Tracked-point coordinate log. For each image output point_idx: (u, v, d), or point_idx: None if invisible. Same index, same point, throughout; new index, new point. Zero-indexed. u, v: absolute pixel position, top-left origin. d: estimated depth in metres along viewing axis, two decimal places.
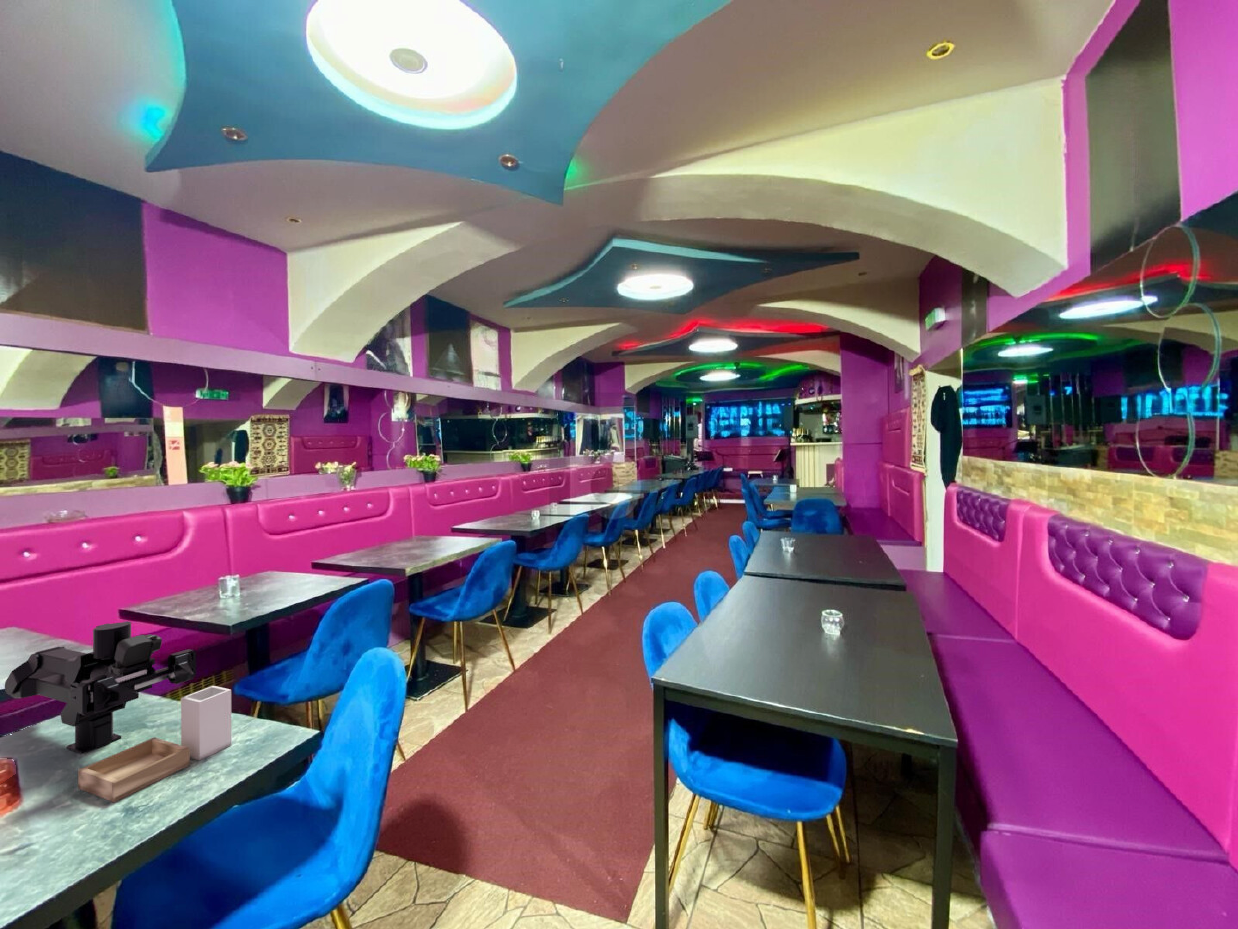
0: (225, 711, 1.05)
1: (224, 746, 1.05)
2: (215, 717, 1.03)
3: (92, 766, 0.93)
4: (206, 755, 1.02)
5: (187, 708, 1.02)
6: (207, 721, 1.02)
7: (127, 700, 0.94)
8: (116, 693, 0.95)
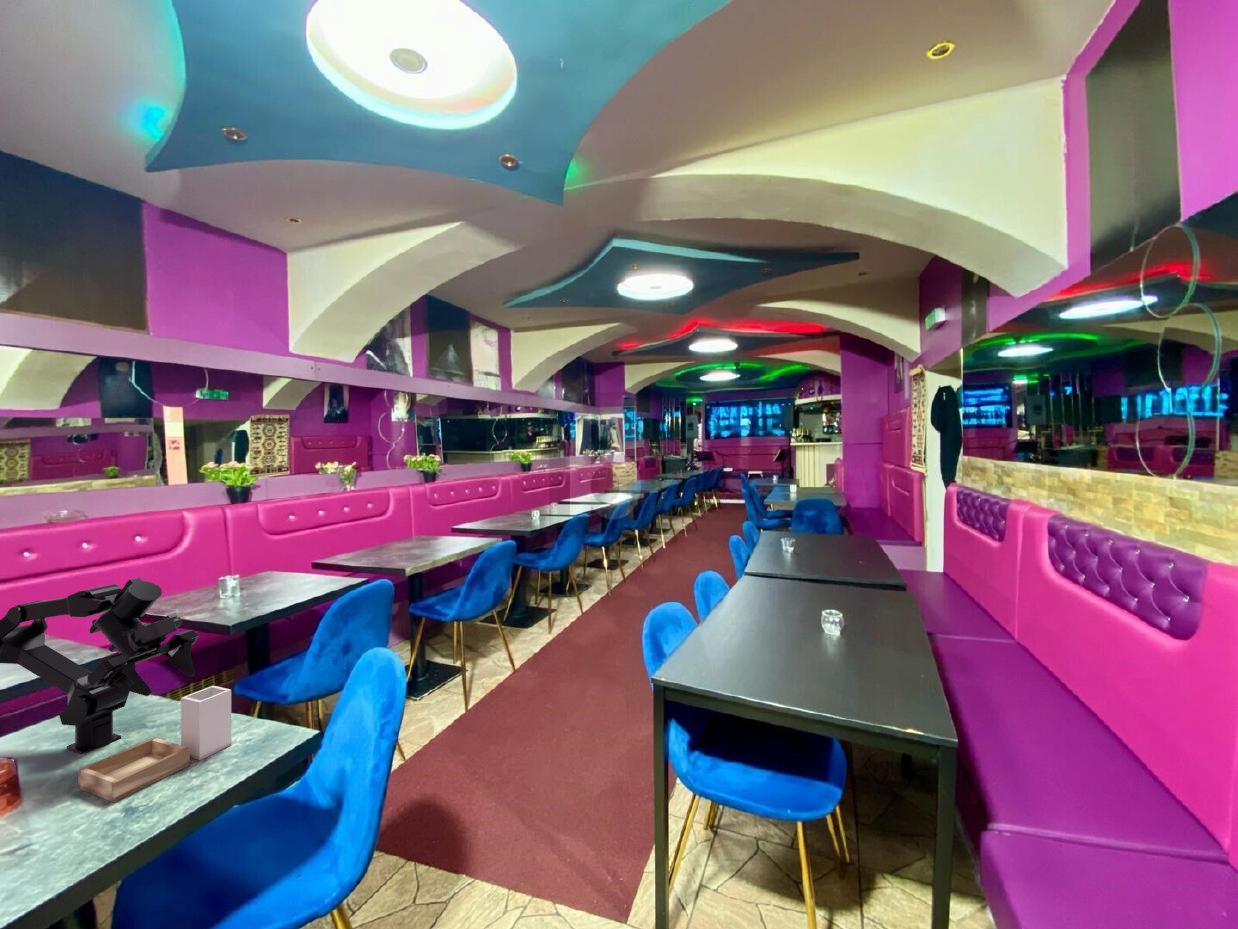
0: (225, 711, 1.05)
1: (224, 746, 1.05)
2: (215, 717, 1.03)
3: (92, 766, 0.93)
4: (206, 755, 1.02)
5: (187, 708, 1.02)
6: (207, 721, 1.02)
7: (137, 692, 1.00)
8: (130, 680, 1.00)
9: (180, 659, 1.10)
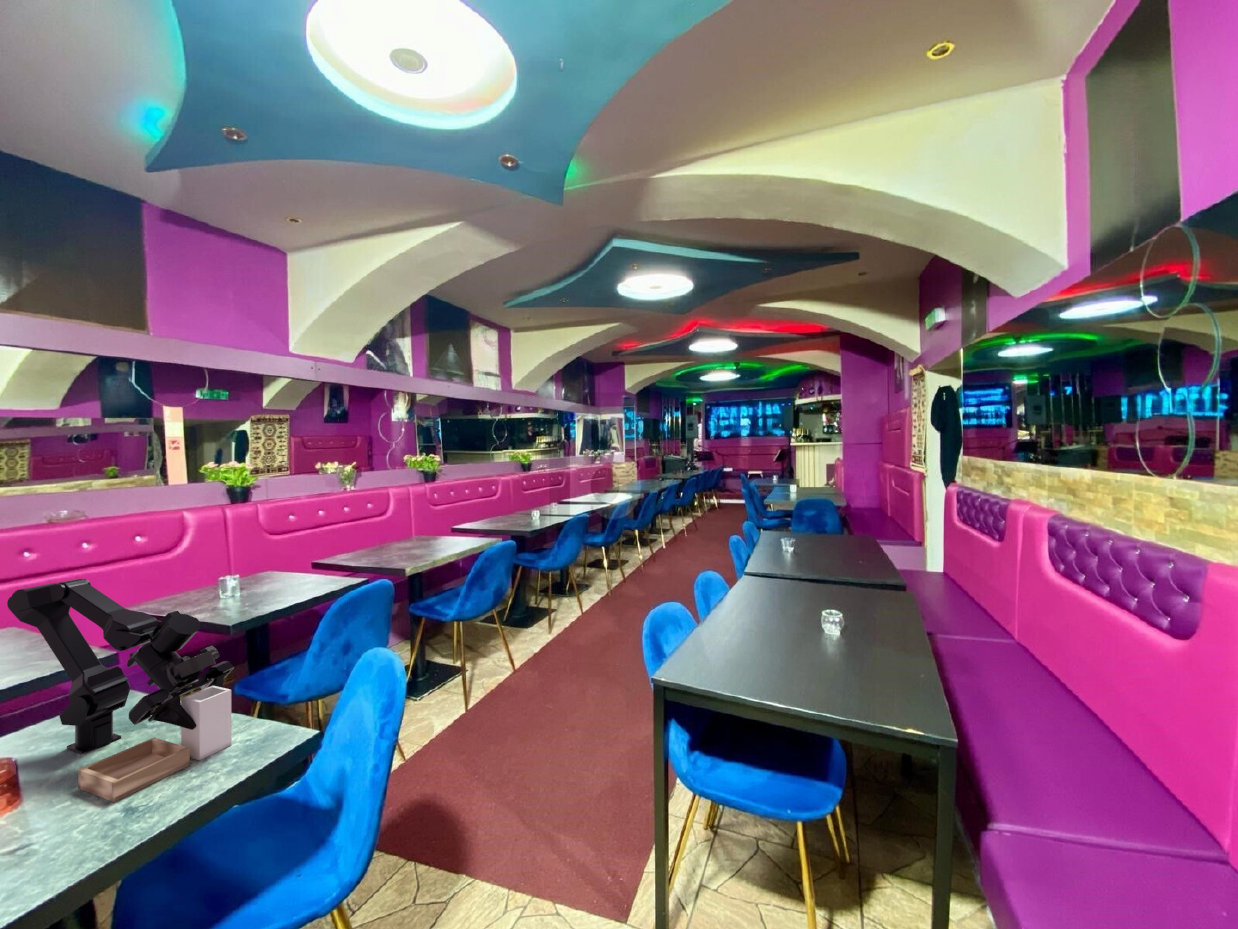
0: (225, 711, 1.05)
1: (224, 746, 1.05)
2: (215, 717, 1.03)
3: (92, 766, 0.93)
4: (206, 755, 1.02)
5: (187, 708, 1.02)
6: (207, 721, 1.02)
7: (182, 726, 1.00)
8: (176, 714, 1.00)
9: None
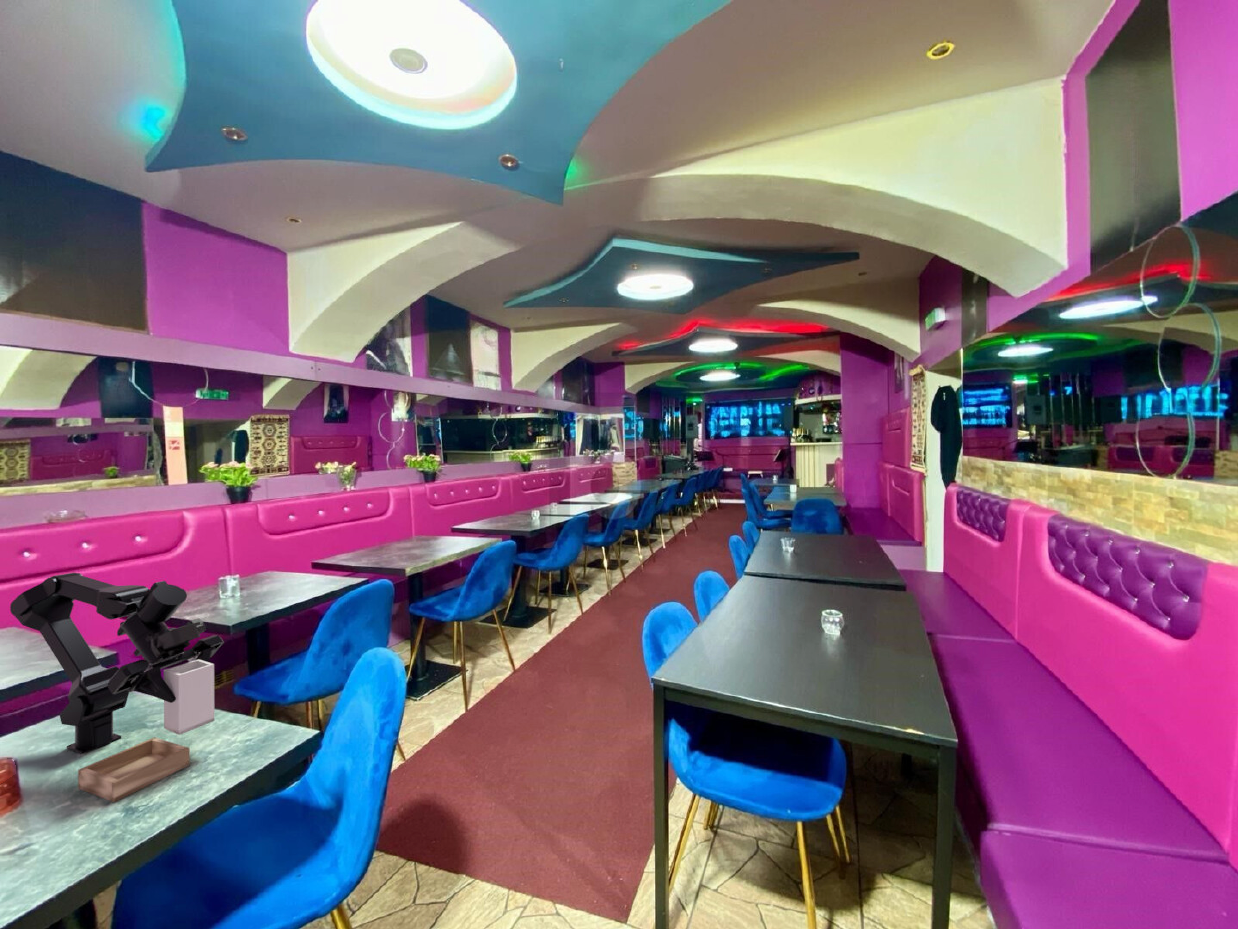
0: (207, 686, 1.02)
1: (206, 722, 1.02)
2: (196, 692, 1.00)
3: (92, 766, 0.93)
4: (186, 730, 0.99)
5: (169, 680, 0.99)
6: (187, 695, 0.99)
7: (162, 698, 0.98)
8: (156, 686, 0.97)
9: None
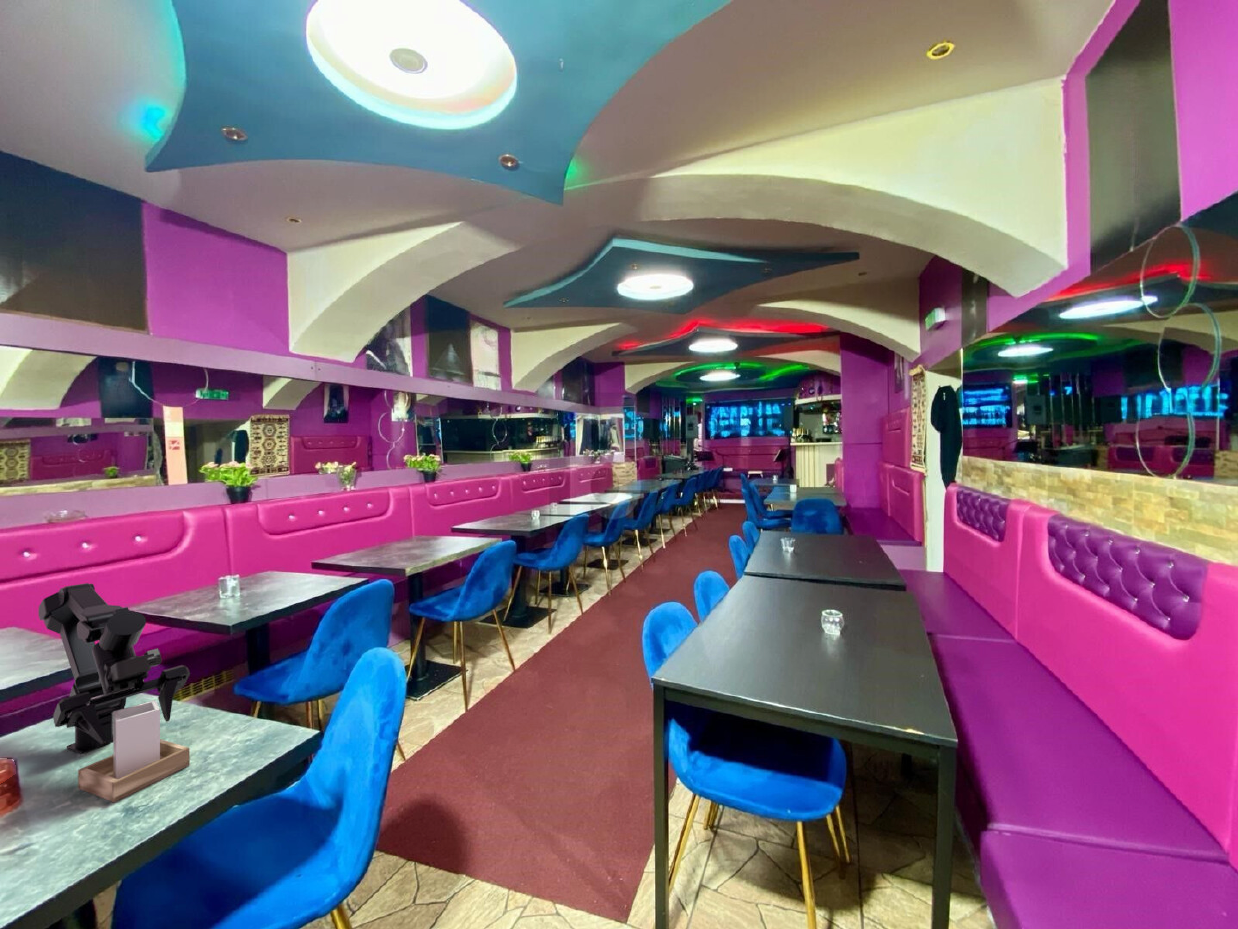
0: (151, 733, 0.95)
1: None
2: (137, 739, 0.94)
3: (92, 766, 0.93)
4: None
5: (114, 724, 0.94)
6: (126, 743, 0.92)
7: (95, 738, 0.91)
8: (90, 724, 0.91)
9: (163, 699, 1.01)
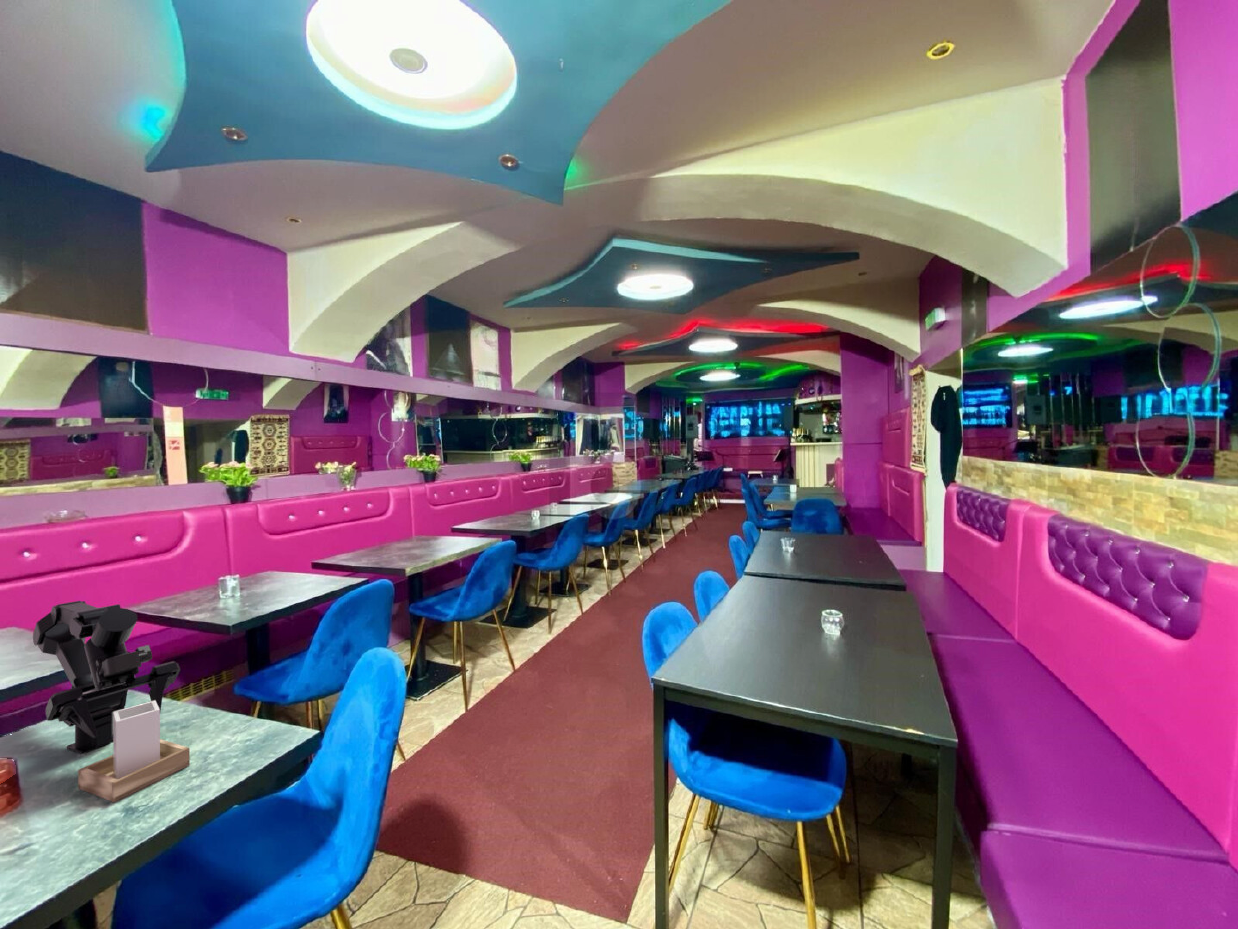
0: (151, 733, 0.95)
1: None
2: (137, 739, 0.94)
3: (92, 766, 0.93)
4: None
5: (114, 724, 0.94)
6: (126, 743, 0.92)
7: (86, 732, 0.94)
8: None
9: (153, 694, 1.03)
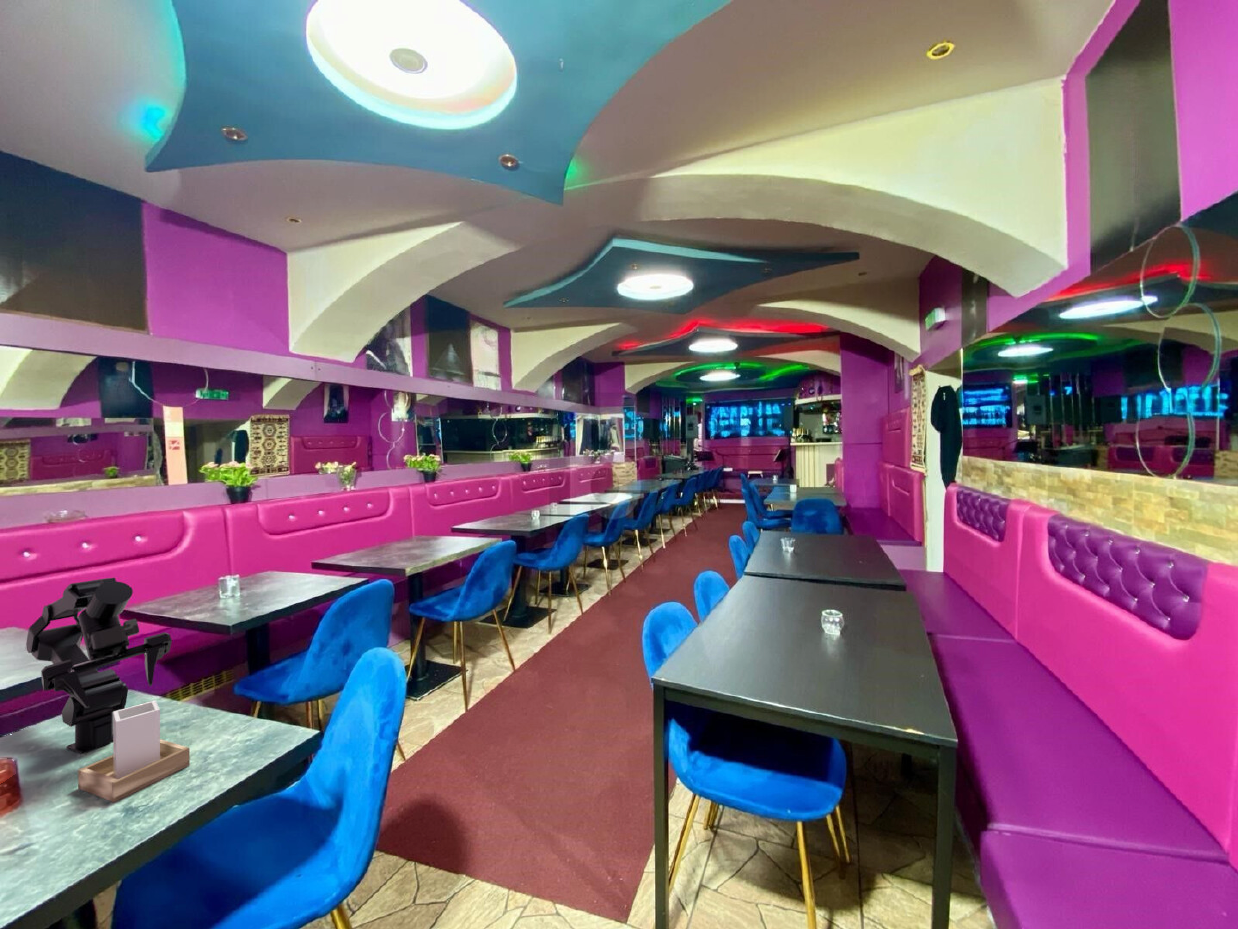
0: (151, 733, 0.95)
1: None
2: (137, 739, 0.94)
3: (92, 766, 0.93)
4: None
5: (114, 724, 0.94)
6: (126, 743, 0.92)
7: (80, 702, 0.97)
8: None
9: (146, 665, 1.05)
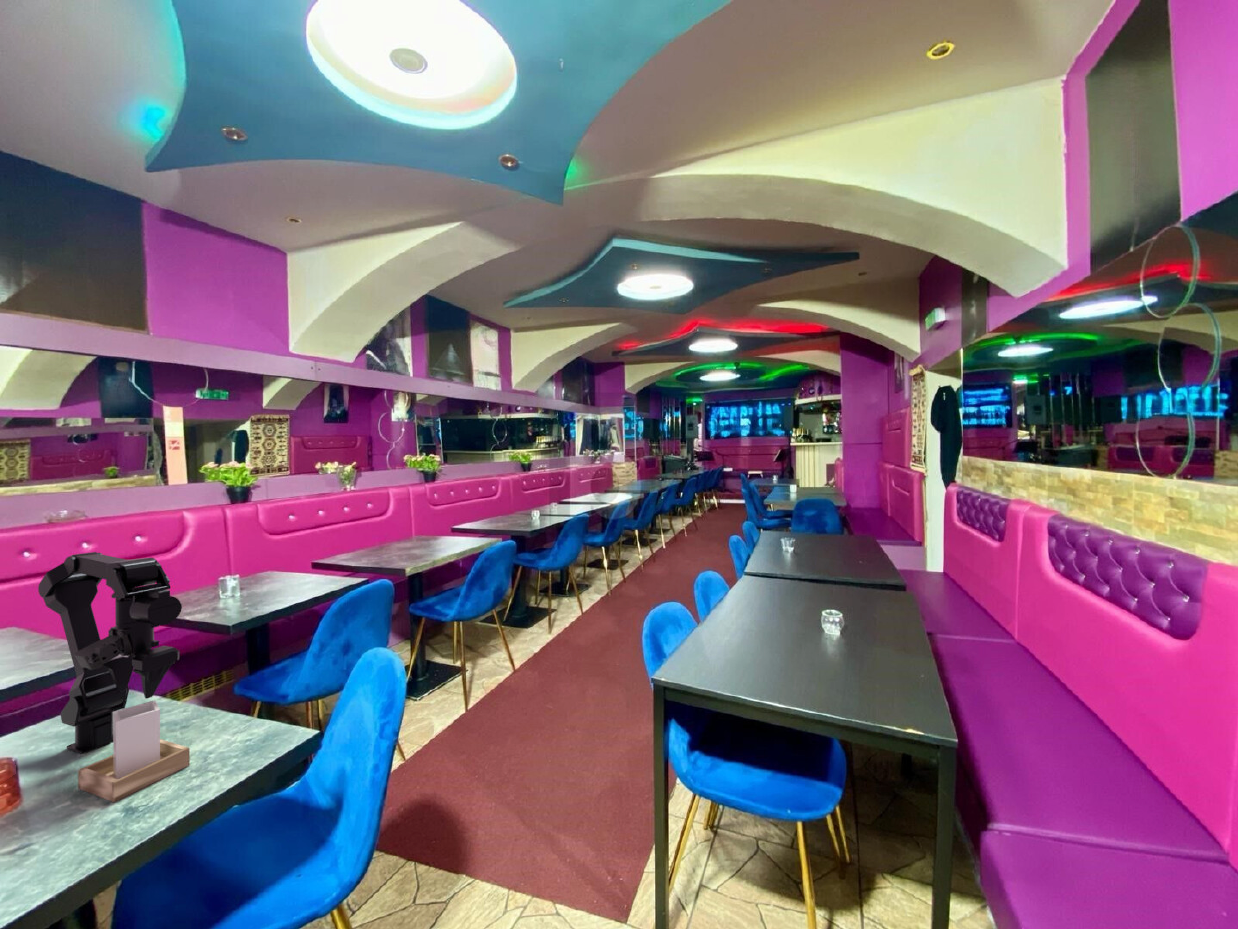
0: (151, 733, 0.95)
1: None
2: (137, 739, 0.94)
3: (92, 766, 0.93)
4: None
5: (114, 724, 0.94)
6: (126, 743, 0.92)
7: None
8: None
9: None
